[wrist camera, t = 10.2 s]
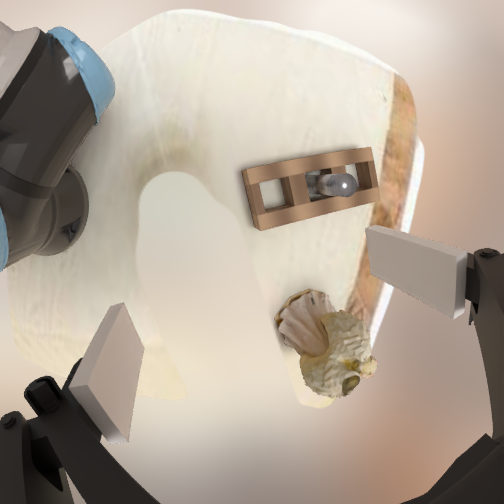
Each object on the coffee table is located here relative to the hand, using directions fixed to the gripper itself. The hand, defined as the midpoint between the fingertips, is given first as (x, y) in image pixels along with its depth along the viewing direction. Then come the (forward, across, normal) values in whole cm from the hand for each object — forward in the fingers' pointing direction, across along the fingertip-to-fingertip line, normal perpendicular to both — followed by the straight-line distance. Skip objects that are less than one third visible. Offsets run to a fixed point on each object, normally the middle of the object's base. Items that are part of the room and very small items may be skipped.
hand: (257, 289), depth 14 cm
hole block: (+31, +17, +1) cm, 35 cm away
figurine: (+31, +11, -22) cm, 40 cm away
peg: (+31, +17, +1) cm, 36 cm away
